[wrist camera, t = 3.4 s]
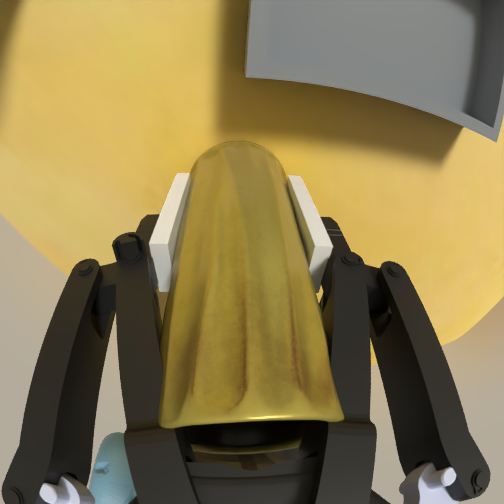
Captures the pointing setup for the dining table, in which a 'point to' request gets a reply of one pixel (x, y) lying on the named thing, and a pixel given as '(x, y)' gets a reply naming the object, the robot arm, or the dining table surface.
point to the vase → (243, 313)
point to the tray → (388, 52)
